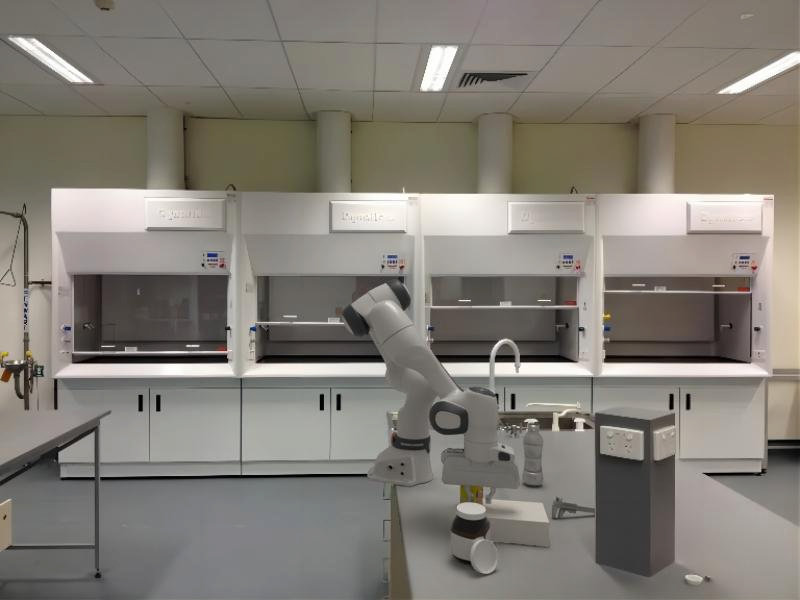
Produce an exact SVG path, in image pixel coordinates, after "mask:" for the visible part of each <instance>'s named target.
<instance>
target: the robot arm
mask: <svg viewBox="0 0 800 600" xmlns="http://www.w3.org/2000/svg"><path fill="white" fill-rule="evenodd" d="M411 301H412V299H411V294H410V291H409V289H408V288H407V286H406V285H405V284H404V283H403V282H402V281H400V280H399V279H396V278H392V279H390V280H387V281H385V282H384V283H383V284H381V285H378V286H376V287H374V288H373V289H372V288H371V290H369V291H367V292H366V293H365V294H363V295H362V296H360V297H359V298H357V299H356V300H355V301H354V302H352V303H351V304H348V305H347V306H346V307H344V309H343V310H342V313H341V316H342V322H343V324H344V327H345V328H346V330H347V331H348V332H349V333H351V334H352V335H353V336H355V337H359V338H361V337H364V336H370V337H371V339H372V342H373V343H374V344H375V346H376V349H377V350H378V351H379V354H380V355H381V357H382V359H383V361H384V363H385V368H386V369H385V373H384V375H385V376H384V378H385V382H386V383H387V385H388V386H389V387H391V388H393V389H394V390H395V391H397V392H400V393H403V394H406V397H405V401H404V404H403V406H402V407H401V408H400V409H399V410H398V412H397V414H396V415H397V418H396V420H397V421H396V423H397V424H396V425H397V427H396V430H397V431H395V432H393V433H392V434H391V438H390V443H391V445H389V446H388V447H386V448H385V449H383V451H380V453H378V455H377V456H376V458H375V461H374V465H373V466H372V467H371V468H369V470H368V471H367V475H366V477H367V479H368V480H369V481H370V482H377V483H385V484H391V485H399V486H406V487H414V486H415V485H419V484H424V483H428V482H430V481H432V480H433V479H434V473H433V470H432V463H431V454H430V453H431V448H432V440H431V435H430V425H431V427H432V429H433V430H434V431H435V432H436V433H438V434H440V435H443V436H456V435H463V448H459V447H458V448H452V447H446V448H445V449H444V450H443V451H441V452H440V453H441V454H440V461H441V463H442V472H441V482H442V483H443V484H444V485H453V486H460V485H464V486H465V491H466V493H467V495H468V496H469V502H473V503H474V494H471V492H470V486H478V487H483V488H489V490H490V492H489V493H488V494H485V499H486V504H491V499H493V496H494V495H495V493H496V492H497V489H510V490H518V489H519V488H520V486H521V483H520V482H521V481H520V479H521V478H520V472H519V471H520V470H519V467H518V463H517V460H516V452H515V450H514V448H513V447H511V446H509V445H507V444H503V443H501V442H499V437H498V432H497V429H498V425H499V406H498V399H497V395H496V394H495V393H494V392H493V391H492V390H490V389H487V388H485V387H480V386H470V387H468V388H467V389H465V390H464V389H463V388H462V387H460V386H459V384H458V383H456V381H455V380H454V379H453V377H452V376H451V375H450V373H449V372H448V370H447V369H446V368H445V366H444V365H443V363H442V362H440V360H439V359H438V357H437V356H436V355H435V353H434V352H433V351H432V349H431V348H430V346H428V344H427V342H426V341H425V339H424V338H423V336H422V335H421V333H420V331H419V330H418V329H417V327H416V326H415V324H414V323H413V321H412V320H411V319H410V316H408V314H407V313H406V312H405V311H406V310H407V309H408V308H409V307H410V305H411ZM438 397H439V400H438V401H436V402H435V400H436V399H437V398H438ZM434 402H435V403H434Z"/></svg>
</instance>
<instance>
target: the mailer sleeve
mask: <svg viewBox="0 0 800 600" xmlns="http://www.w3.org/2000/svg"><path fill="white" fill-rule="evenodd" d="M482 505H483V506H484V507H485V508H486V517H487V518H488V519H489V522H490V541H494V542H493V543H498V542H506V543H505V544H509V543H517V544H516V545H521V544H525V545H524V546H533V545H536V547H544V546H545V548H546V547H547V548H549V547H550V546H549V545H550V521H549V518H548V516H547V515H548V514H547V512H546V509H545V507H544V503H543V502H537V501H535V502H533V501H520V500H508V499H507V500H505V499H493V498H491V504H486V498H483V501H482ZM526 544H527V545H526Z"/></svg>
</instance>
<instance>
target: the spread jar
mask: <svg viewBox="0 0 800 600" xmlns="http://www.w3.org/2000/svg"><path fill="white" fill-rule="evenodd" d="M450 553H451V556H452V557H453V558H454V559H455V560H457V561H458V562H459V563H461V564H463V563H464V565H466V564H468V566H472V568H473V569H474V570H475V571H476V572H478V573H480V574H484V575H489V574H491V573H492V572H494V571H495V570H496V568H497V566H498V562H499V551H498V549H497V547H496V545H495V544H494V542H491V541H490V522H489V519H488V518H487V517H486V508H485V507H484V506H482V505H480V504H478V503H472V502H466V503H461V504H460V503H459V504H458V505H457V506H456V514H455V517H454V519H453V520H452V524H451V527H450ZM487 570H488V571H487Z"/></svg>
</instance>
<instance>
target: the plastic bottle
mask: <svg viewBox="0 0 800 600" xmlns="http://www.w3.org/2000/svg"><path fill="white" fill-rule="evenodd" d="M526 429H527V432H526V433H525V434H524V436H523V437H522V444H523V445H522V446H523V450H524V451H523V452H524V454H523V455H524V463H523V464H524V465H523V470H522V481H523V482H524V484H525V485H527V486H531V487H539V486H541V485H543V482H544V473H543V466H542V465H543V463H542V462H543V461H542V456H543V448H544V438H543V437H542V435H541V433H540V424H539V423H535V422H529V423H527V428H526Z"/></svg>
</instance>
